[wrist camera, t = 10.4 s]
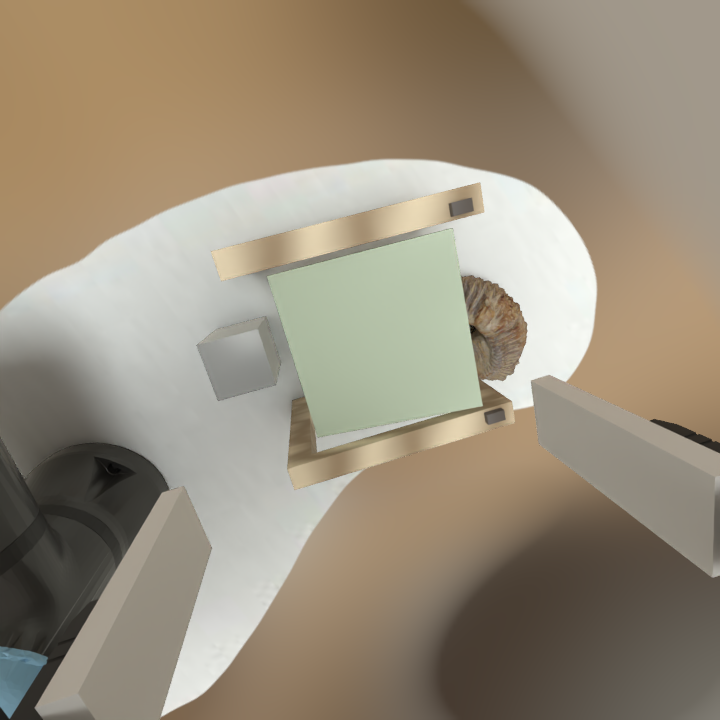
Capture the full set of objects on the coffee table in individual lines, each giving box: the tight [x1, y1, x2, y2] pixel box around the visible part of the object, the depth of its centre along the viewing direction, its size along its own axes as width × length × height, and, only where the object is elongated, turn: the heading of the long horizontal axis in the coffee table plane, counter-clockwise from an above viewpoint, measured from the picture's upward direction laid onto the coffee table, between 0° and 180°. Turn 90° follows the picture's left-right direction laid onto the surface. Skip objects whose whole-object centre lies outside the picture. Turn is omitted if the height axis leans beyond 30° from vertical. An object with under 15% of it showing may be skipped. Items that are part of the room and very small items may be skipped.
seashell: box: [461, 275, 527, 381], centre depth 43 cm, size 14×10×10 cm
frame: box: [211, 183, 515, 490], centre depth 35 cm, size 19×19×16 cm
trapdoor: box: [267, 228, 483, 437], centre depth 31 cm, size 14×14×4 cm
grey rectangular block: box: [197, 316, 281, 401], centre depth 38 cm, size 6×6×8 cm
